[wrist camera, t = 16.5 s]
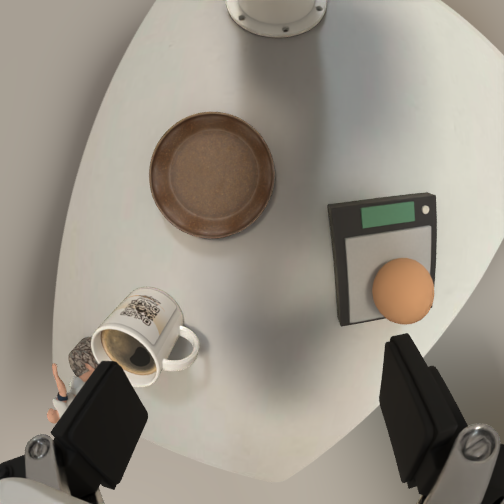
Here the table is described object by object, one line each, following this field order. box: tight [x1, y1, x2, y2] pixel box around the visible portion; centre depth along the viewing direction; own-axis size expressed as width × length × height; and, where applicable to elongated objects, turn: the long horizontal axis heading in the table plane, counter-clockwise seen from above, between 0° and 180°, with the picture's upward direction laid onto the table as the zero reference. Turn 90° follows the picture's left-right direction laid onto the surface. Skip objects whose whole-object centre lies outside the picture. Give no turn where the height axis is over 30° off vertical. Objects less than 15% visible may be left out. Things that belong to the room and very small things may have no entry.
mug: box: [91, 287, 199, 387], centre depth 37 cm, size 10×12×11 cm
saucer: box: [149, 112, 275, 238], centre depth 33 cm, size 15×15×3 cm
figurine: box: [47, 337, 99, 423], centre depth 38 cm, size 15×9×18 cm, turn 164°
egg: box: [372, 258, 434, 324], centre depth 30 cm, size 7×7×8 cm
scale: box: [328, 192, 437, 326], centre depth 35 cm, size 16×14×3 cm
